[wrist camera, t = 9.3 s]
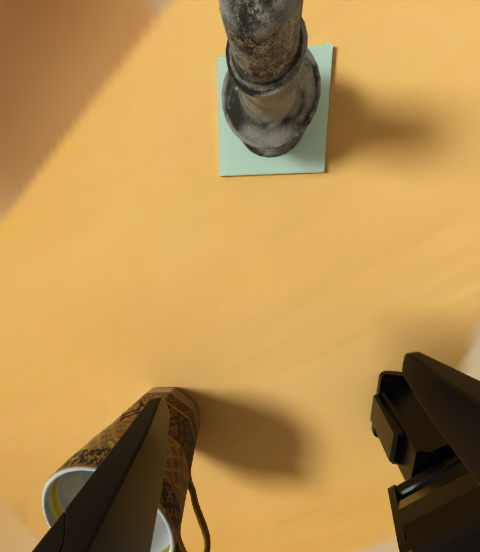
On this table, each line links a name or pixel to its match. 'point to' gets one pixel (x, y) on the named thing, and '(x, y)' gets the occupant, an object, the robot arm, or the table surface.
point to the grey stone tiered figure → (268, 74)
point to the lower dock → (297, 160)
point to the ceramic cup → (176, 475)
